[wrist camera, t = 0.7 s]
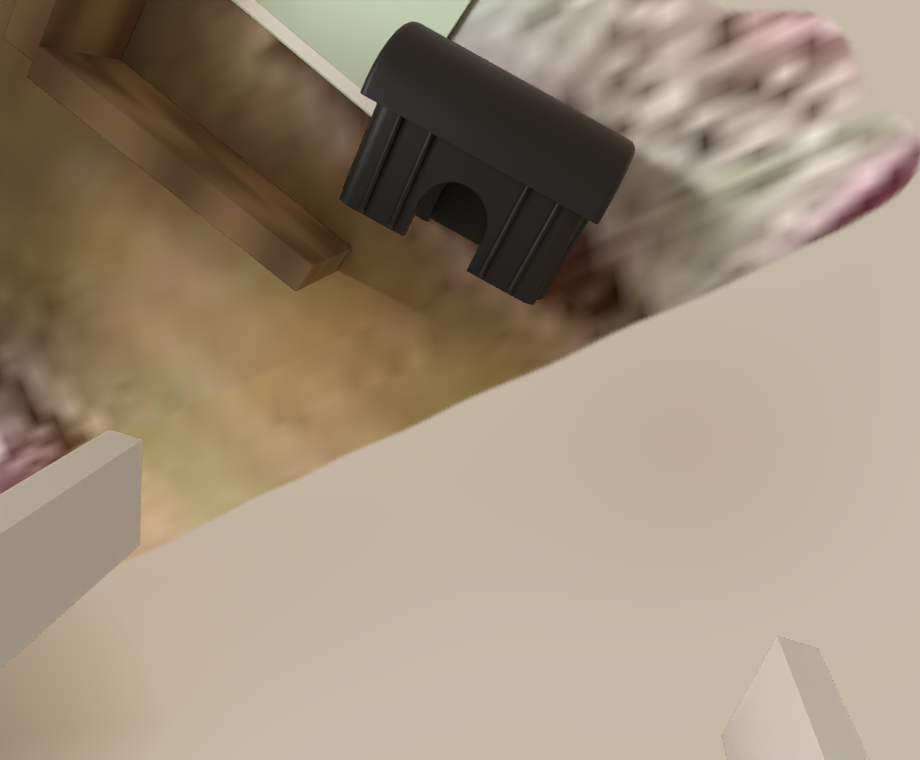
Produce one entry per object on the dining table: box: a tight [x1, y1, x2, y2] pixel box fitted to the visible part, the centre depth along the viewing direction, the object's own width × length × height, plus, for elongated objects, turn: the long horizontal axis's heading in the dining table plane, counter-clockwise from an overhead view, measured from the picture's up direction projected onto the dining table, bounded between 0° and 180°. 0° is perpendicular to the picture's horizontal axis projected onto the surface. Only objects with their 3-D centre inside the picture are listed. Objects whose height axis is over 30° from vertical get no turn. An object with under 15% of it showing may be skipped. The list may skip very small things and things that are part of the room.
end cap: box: [340, 21, 635, 305], centre depth 26 cm, size 10×7×7 cm
